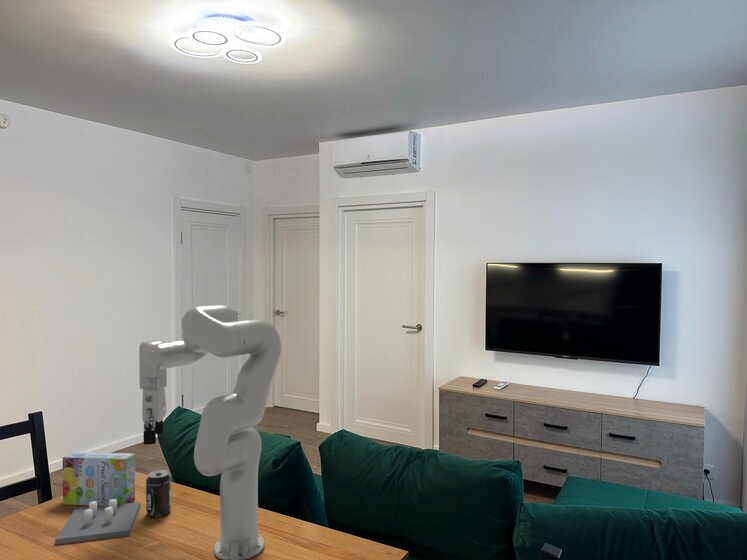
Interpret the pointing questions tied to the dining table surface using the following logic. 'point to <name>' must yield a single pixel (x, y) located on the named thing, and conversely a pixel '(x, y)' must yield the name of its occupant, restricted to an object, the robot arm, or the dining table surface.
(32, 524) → the dining table surface
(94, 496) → the snack box
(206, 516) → the dining table surface
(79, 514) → the peg stand
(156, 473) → the beverage can
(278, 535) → the dining table surface
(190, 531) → the dining table surface
